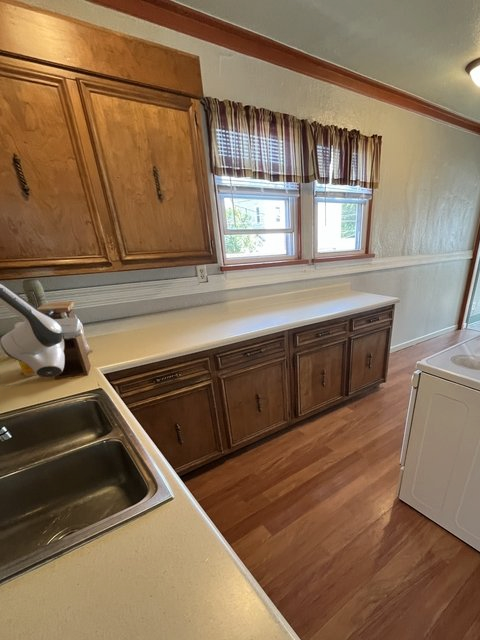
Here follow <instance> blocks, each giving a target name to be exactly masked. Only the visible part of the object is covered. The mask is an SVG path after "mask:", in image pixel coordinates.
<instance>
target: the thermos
mask: <svg viewBox="0 0 480 640" xmlns="http://www.w3.org/2000/svg"><path fill="white" fill-rule="evenodd" d="M22 289H23V292H24V294H25V297H26V299H27V301H28V302H29V303H30V304H31V305H33V306H34V307H35V308H39V307H40V306H41V305H42V304H44V303H50V302H49V301H48V299H47V298H46V293H45V290H44V287H43V285H42V283H41V282H40V281H39V279H37V278H33V279H32V278H31V279H29V278H28V279H24V280H23V281H22Z"/></svg>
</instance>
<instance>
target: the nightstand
mask: <svg viewBox="0 0 480 640" xmlns="http://www.w3.org/2000/svg"><path fill="white" fill-rule="evenodd" d="M61 313H62V312H58V313H54V314H53V315H52V316H51V318H53V319H63V318H62V316H61ZM65 313H66V315H67V316H68V317H69V318H76V317H75V314H76V313H75V311H74V309H73V308H71V310H70V311H69V312H65ZM63 352H64V355H65V363H64V369H63V371H62V373H60V374H59V375H57V376H54V377H53V378H54V380H62V379H68V378H69V377H70V378H75V377H76V376H77V377H83V376H89V373H90V369H91V367H92V366H91V361H90V359H89V356H88V354H87V352H86V349H85V346H84V343H83V340H82V336H79V337H78V338H70V339H64V351H63ZM70 378H69V379H70Z"/></svg>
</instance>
